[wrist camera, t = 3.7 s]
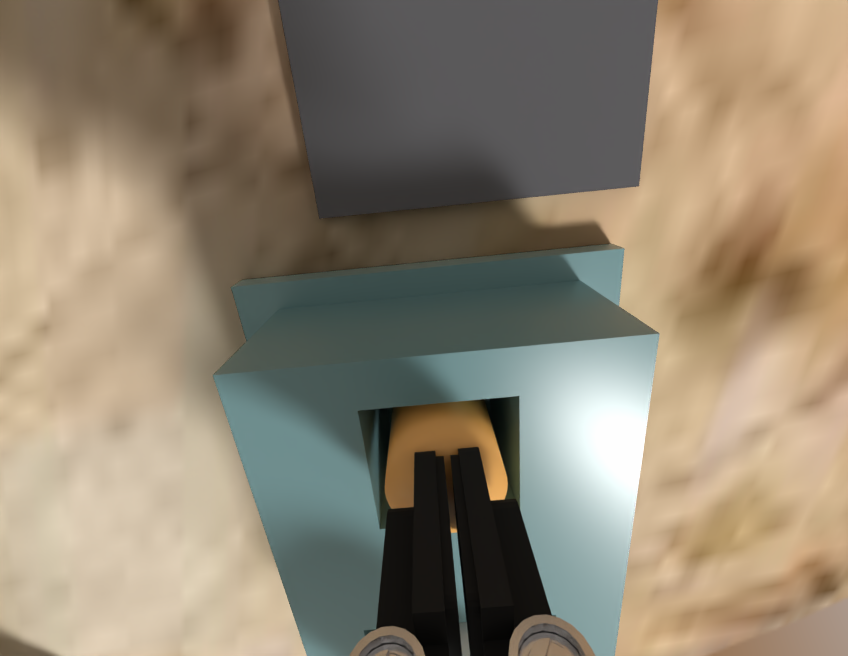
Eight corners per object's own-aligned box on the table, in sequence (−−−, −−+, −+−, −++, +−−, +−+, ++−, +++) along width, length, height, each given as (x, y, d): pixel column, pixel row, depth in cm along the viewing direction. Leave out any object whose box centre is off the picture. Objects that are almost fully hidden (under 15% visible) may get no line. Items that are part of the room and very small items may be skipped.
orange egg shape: (388, 362, 14) (376, 443, 10) (479, 353, 14) (506, 431, 10) (399, 437, 15) (392, 537, 11) (483, 429, 15) (508, 528, 11)
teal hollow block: (242, 279, 15) (139, 344, 9) (611, 243, 15) (730, 287, 9) (339, 630, 23) (313, 779, 17) (581, 611, 22) (635, 756, 17)
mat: (241, -226, 10) (231, -248, 10) (673, -279, 10) (689, -306, 9) (323, 216, 14) (319, 218, 14) (630, 185, 14) (638, 186, 13)
